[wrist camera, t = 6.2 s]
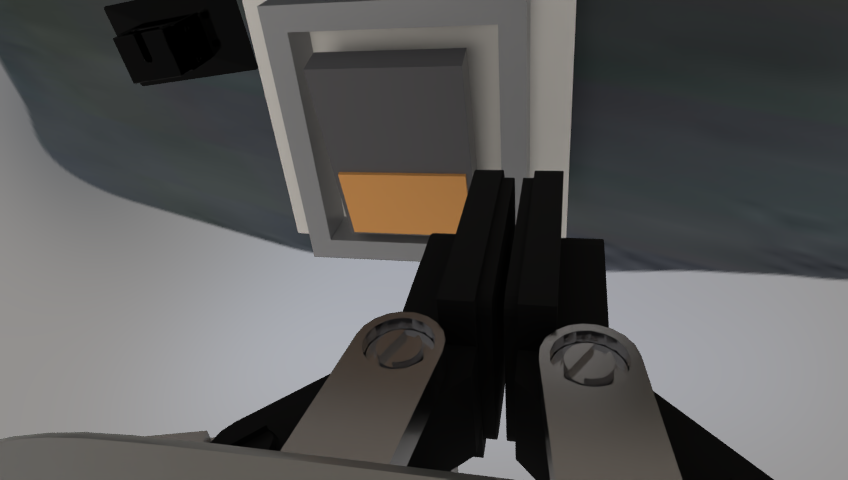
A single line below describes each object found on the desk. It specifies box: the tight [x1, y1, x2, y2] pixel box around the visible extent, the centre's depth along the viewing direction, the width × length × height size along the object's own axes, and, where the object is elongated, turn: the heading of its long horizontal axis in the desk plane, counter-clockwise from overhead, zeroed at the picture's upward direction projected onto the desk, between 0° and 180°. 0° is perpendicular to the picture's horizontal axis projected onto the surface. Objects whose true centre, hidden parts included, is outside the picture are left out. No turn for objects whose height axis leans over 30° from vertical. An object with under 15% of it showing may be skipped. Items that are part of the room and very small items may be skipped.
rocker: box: [303, 48, 477, 236], centre depth 30 cm, size 7×10×2 cm
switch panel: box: [242, 0, 576, 262], centre depth 34 cm, size 16×14×10 cm
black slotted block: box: [104, 0, 258, 86], centre depth 40 cm, size 12×7×5 cm, turn 102°
